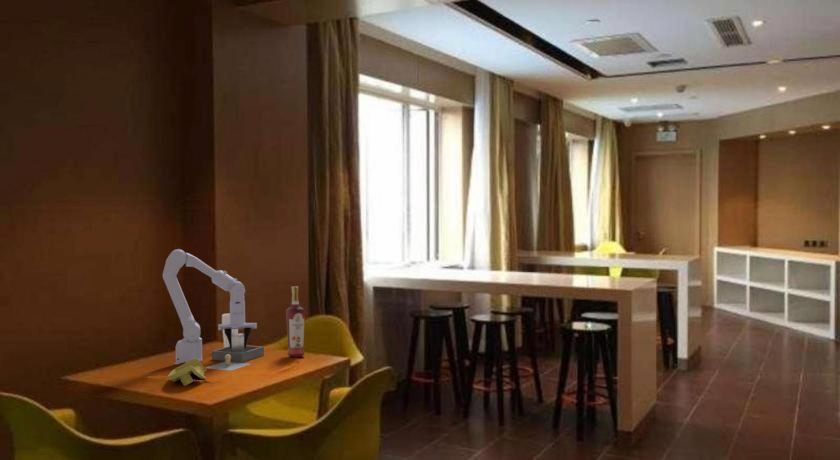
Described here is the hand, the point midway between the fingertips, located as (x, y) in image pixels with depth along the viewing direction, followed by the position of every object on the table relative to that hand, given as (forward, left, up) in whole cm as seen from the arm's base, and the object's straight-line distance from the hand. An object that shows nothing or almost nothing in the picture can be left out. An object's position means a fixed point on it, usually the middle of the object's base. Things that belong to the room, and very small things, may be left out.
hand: (238, 347), depth 277 cm
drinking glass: (-16, +16, -5) cm, 23 cm away
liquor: (+18, +13, -5) cm, 23 cm away
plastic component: (+4, -34, -6) cm, 35 cm away
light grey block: (0, 0, -2) cm, 2 cm away
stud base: (+6, -14, -5) cm, 16 cm away
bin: (0, 0, -5) cm, 5 cm away
